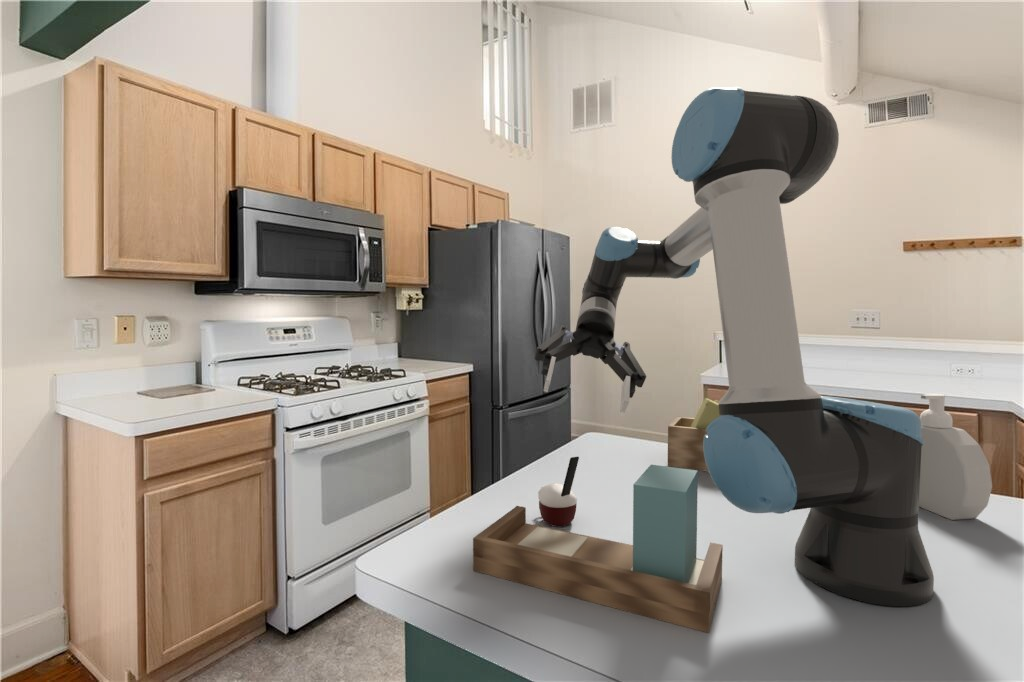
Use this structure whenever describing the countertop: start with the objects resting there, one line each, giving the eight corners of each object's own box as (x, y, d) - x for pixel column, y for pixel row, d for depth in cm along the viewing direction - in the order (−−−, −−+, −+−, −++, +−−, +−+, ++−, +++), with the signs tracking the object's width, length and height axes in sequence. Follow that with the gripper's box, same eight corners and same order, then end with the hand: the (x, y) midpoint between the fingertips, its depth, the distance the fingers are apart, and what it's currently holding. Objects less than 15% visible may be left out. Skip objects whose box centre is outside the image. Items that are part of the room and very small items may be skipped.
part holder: (801, 468, 115) (802, 427, 115) (802, 483, 105) (803, 439, 105) (677, 453, 128) (677, 416, 127) (667, 466, 118) (668, 426, 117)
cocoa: (535, 515, 91) (532, 446, 91) (571, 512, 92) (568, 443, 92) (545, 536, 82) (542, 459, 81) (585, 533, 82) (581, 456, 82)
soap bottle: (879, 492, 100) (883, 388, 99) (904, 490, 101) (908, 387, 100) (963, 526, 85) (969, 403, 83) (991, 524, 85) (997, 402, 84)
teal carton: (696, 561, 69) (697, 470, 68) (684, 594, 61) (685, 492, 60) (648, 551, 72) (649, 464, 71) (631, 581, 64) (632, 484, 63)
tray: (721, 578, 69) (722, 544, 68) (708, 632, 57) (709, 592, 57) (517, 534, 83) (516, 505, 82) (473, 570, 71) (473, 538, 71)
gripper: (650, 353, 108) (650, 429, 91) (532, 323, 109) (511, 392, 93) (663, 325, 103) (665, 400, 87) (539, 293, 104) (518, 361, 88)
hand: (585, 396), depth 90 cm, fingers open, 13 cm apart
